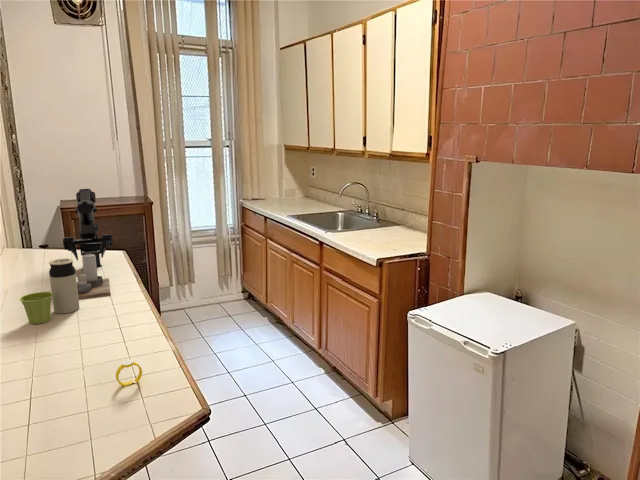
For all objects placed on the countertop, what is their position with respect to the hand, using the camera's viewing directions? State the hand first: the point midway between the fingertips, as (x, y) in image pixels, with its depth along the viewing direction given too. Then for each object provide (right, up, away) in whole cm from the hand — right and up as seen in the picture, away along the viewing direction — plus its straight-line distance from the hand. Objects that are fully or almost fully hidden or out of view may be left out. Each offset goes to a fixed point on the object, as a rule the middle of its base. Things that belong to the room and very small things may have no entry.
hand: (89, 258), depth 196 cm
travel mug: (+6, -17, -29) cm, 35 cm away
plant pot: (+2, -19, -39) cm, 44 cm away
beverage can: (+3, -10, -4) cm, 11 cm away
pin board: (+3, -12, -8) cm, 15 cm away
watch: (+48, -28, -78) cm, 96 cm away
